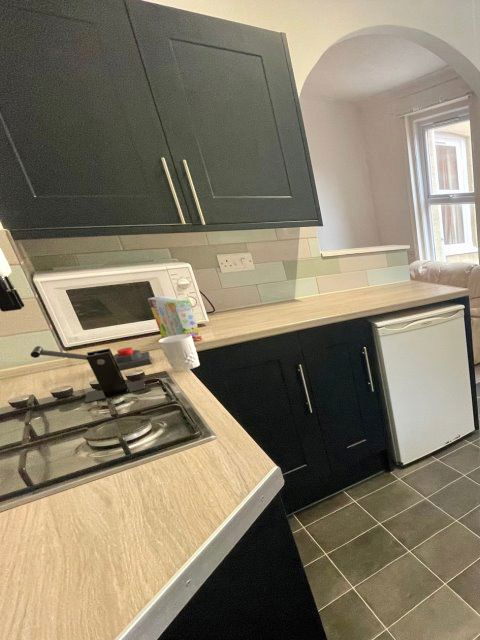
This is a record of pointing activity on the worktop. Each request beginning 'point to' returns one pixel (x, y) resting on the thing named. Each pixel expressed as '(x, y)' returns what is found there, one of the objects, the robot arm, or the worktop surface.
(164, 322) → the snack box
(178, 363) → the white cup
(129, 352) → the button
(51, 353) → the press lever
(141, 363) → the button box
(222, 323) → the worktop surface
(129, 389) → the lever stand
